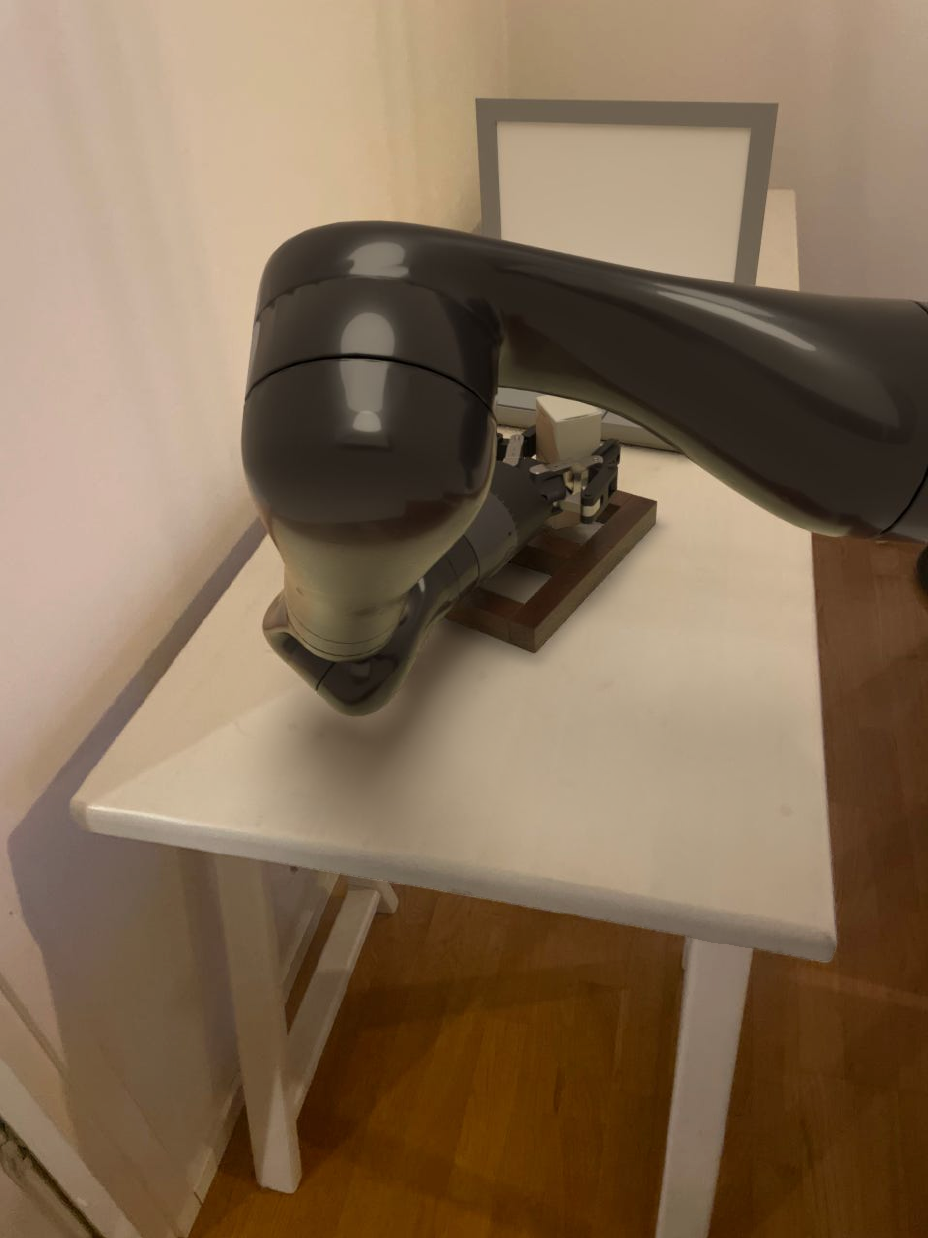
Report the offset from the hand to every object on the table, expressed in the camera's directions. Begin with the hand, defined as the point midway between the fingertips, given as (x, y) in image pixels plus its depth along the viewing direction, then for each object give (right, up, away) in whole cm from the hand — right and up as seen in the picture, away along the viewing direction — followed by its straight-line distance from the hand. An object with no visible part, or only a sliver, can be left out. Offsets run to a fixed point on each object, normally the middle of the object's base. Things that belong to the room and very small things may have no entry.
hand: (580, 439), depth 84 cm
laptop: (+3, +12, +30) cm, 32 cm away
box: (-1, -6, +3) cm, 7 cm away
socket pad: (-3, -11, +2) cm, 12 cm away
